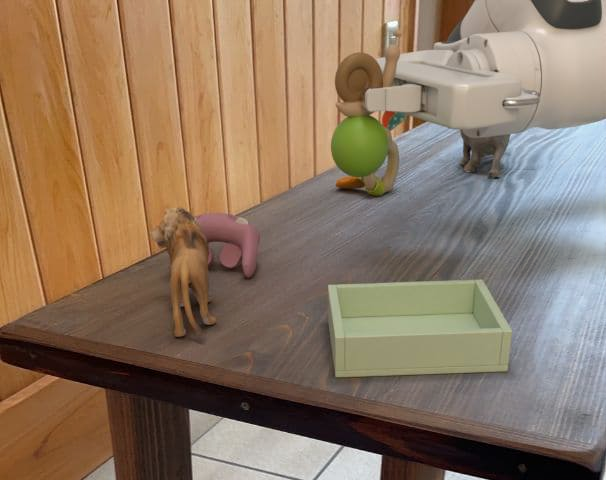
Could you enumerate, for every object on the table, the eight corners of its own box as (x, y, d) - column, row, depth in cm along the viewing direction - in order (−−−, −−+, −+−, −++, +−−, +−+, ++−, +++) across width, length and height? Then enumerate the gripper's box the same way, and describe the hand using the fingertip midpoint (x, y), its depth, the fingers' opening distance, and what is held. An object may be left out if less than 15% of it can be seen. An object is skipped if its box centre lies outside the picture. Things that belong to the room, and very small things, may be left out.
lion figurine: (156, 293, 89) (145, 204, 84) (206, 288, 90) (198, 199, 85) (176, 347, 78) (164, 248, 73) (233, 339, 79) (226, 241, 74)
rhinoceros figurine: (449, 162, 122) (469, 58, 122) (448, 200, 136) (466, 106, 136) (503, 169, 121) (524, 64, 121) (497, 206, 135) (516, 112, 134)
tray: (479, 315, 82) (482, 279, 80) (507, 371, 72) (512, 331, 70) (328, 321, 82) (327, 284, 80) (335, 377, 72) (335, 337, 70)
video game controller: (261, 282, 96) (264, 217, 95) (252, 276, 91) (255, 208, 90) (177, 279, 97) (179, 215, 96) (164, 273, 93) (166, 206, 92)
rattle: (373, 181, 125) (375, 94, 119) (408, 192, 120) (412, 102, 113) (331, 189, 122) (331, 100, 115) (365, 201, 117) (367, 108, 110)
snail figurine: (406, 179, 81) (414, 32, 74) (344, 185, 79) (347, 35, 72) (381, 167, 85) (387, 27, 78) (321, 173, 83) (322, 30, 76)
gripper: (547, 139, 75) (407, 155, 71) (435, 108, 91) (316, 119, 87) (557, 58, 72) (410, 70, 68) (439, 40, 87) (314, 49, 84)
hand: (356, 97), depth 78 cm, fingers closed on snail figurine
